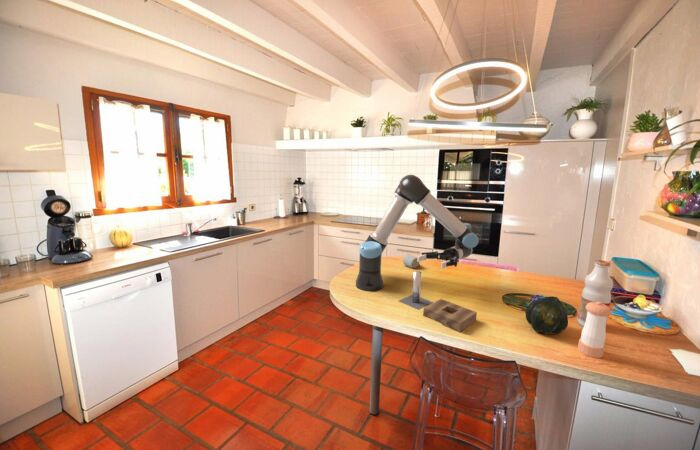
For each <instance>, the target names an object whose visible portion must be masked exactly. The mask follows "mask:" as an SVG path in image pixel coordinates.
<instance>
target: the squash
mask: <svg viewBox="0 0 700 450" xmlns="http://www.w3.org/2000/svg"><path fill="white" fill-rule="evenodd" d="M525 309H526V310H525V312H524V313H525V319H526V321H527V323H528V324H529V325H530V326H531V328H532V329H533V331H535V332H537V333H540V332H542V333H543V334H545V335H550V334H553V335H557V334H558V335H559V334H561V332H564V331H565V330H566V329H567V327H568V325H569V317H568V316H569V315H568V313H567V310H566V308H565V307H564V306H563V304H562V303H561V300H560V299H559V298H558V297H557V296H545V298H541V299H538V300H535V301H533V302H531V303H530V304H529V305H528V306H526V308H525Z"/></svg>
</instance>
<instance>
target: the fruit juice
mask: <svg viewBox="0 0 700 450" xmlns="http://www.w3.org/2000/svg"><path fill="white" fill-rule="evenodd" d="M593 264H594V267H593V269H592V270H591V272H590V273H589V274H587V275H586V276H585V278H584V288H583V289H582V292H581V296H580V302H579V308H578V314H577V324H578V325H581V327H582V328H583V327H584V325H585V322H586V318H587V312H588V311H587V310H586V305H587V304H588V303H590V302H601V303H602V304H604V305H606V306H608V307H609V308H610V306H611V302H612V294H611V291H612V290H613V287H614V281H613V279H612V278H611V277H610V274H609V268H610V266H611V262H610V261H606V260H601V259H595V260H594V263H593ZM608 318H609V316H607V319H608ZM607 322H608V320H607V321H606V324H607Z"/></svg>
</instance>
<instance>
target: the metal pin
mask: <svg viewBox="0 0 700 450" xmlns="http://www.w3.org/2000/svg"><path fill="white" fill-rule="evenodd" d="M412 275H413V278H412V289H411V290H412V292H411V293H412V294H411V295H412V302H413V303H419V301H420V297H421V285H422V271H420V270H414V271H413V274H412Z"/></svg>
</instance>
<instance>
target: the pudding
mask: <svg viewBox="0 0 700 450" xmlns="http://www.w3.org/2000/svg"><path fill="white" fill-rule="evenodd" d="M545 297H546V296H545V295H540V294H534V295H533V297H532V299H531V300H532V301H531V302H533V301H535V300H538V299H541V298H545Z"/></svg>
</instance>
